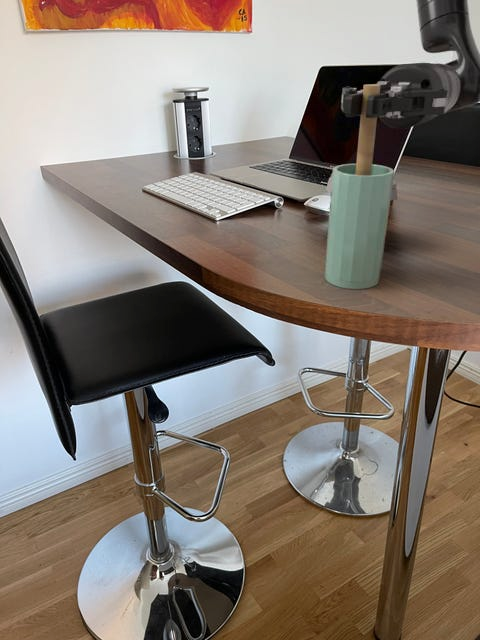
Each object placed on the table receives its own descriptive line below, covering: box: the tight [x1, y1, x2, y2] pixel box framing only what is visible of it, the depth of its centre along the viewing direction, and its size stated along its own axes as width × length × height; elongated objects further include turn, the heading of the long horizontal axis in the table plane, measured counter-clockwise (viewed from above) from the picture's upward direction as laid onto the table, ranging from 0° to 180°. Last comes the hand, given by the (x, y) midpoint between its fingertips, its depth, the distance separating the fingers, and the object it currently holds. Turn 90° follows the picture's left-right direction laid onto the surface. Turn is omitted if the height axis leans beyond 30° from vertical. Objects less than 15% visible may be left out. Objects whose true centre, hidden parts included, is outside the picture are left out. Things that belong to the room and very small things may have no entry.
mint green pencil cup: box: [324, 163, 395, 290], centre depth 62 cm, size 7×7×14 cm
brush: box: [355, 83, 380, 175], centre depth 59 cm, size 4×4×20 cm
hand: (359, 106), depth 53 cm, fingers closed on brush, 2 cm apart
